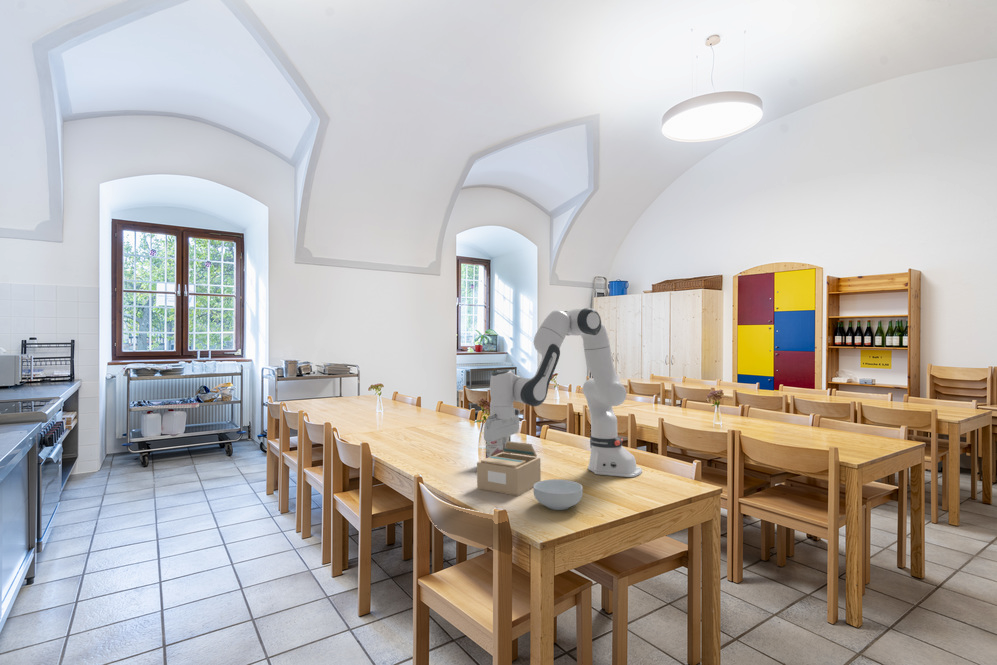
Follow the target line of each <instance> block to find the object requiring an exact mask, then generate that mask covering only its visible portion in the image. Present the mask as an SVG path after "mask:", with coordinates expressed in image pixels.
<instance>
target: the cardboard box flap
mask: <svg viewBox="0 0 997 665" xmlns="http://www.w3.org/2000/svg"><path fill="white" fill-rule="evenodd" d="M502 450H503V452H505V453H511V454H517V455H524V456H531V457H538V455H537V453H536V451H535V448H534V446H533V444H532V443H525V442H524V443H523V442H517V441H511V442H510V441H507V443H506V448H505V449H502Z"/></svg>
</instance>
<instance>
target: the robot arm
mask: <svg viewBox="0 0 997 665" xmlns="http://www.w3.org/2000/svg"><path fill="white" fill-rule="evenodd" d="M566 336H580V337H581V338H582V343H583V344H582V345H583V349H584V350H583V352H584V359H585V364H586V368H587V370H588V371H589V372H590V374H591V376H592V378H588V379H587V380H586V381H585V382H583V383H584V384H583V386H582V394H583V395H584V397H585V399H586V401H587V402H586V403H587V407H588V409H589V414H590V428H591V429H590V430H591V431H590V434H591V435H590V436H589V438H590V440H589V445H590V456H589V462H588V466H587V469H588V470H589V471H590V472H592V473H594V475H601V476H602V475H603V476H613V477H622V478H623V477H624V478H625V477H626V478H634V477H635V478H636V477H638V476H640V475H641V473H642V472H643V471H642V467H640V466H637V462H636V457H635V456H634V455H633V453H631V452H630V451H629V450H628V449H626V447H624V446H623V440H624V438H620V437H619V436H618V418H617V416H616V413H614V409H613V407H617V406H621V405H623V403H624V402H625V401H626V399H627V396H628V395H627V389H626V387H625V386H624V384H623V383H622V382H621V380H620V379H619V376H618V374H617V371H616V369H615V366H614V362H613V361H614V360H613V356H612V352H611V344H610V340H609V335H608V333H607V329H606V327H605V325H604V323H602V319H601V316H600V313H598V311H597V310H596V309H594V308H589V307H585V308H574V309H570V310H565V311H562V310H557V309H556V310H553V311H551V312H550V313H549V314H548V315H547V316H546V318H544V320H543V321H542V323H541V325H540V326H539V328H538V330H536V332H535V335H534V338H533V342H532V343H533V346H534V348H535V351H536V352H537V353H539V354H540V355H541V360H540V363H539V365H538V368H537V370H536V372H535V375H534V376H532V377H531V378H526V377H522V376H521V375H520V376H519V375H517V374H515V373H513V372H512V371H511V370H510V369H499V370H496V371H494V372H492V374H491V376H490V379H489V380H490V381H489V396H490V403H489V416H487V419H486V420H485V422H484V429H483V440H484V442H486V441H489V442H493V441H496V442H497V444H498V449H499V450H502V449H505V448H506V443H507V440H508V436H510V435H511V436H512V435H515V434H518V433H519V429H520V417H519V415H520V411H521V410H520V409H519V408H516V407H514V402H517V403H521V404H525V405H527V406H531V407H539V406H540V405H542V404H543V403H544V402H545V400H546V398H547V395H548V391H549V385H550V383H551V380H552V377H553V376H554V373H555V369H556V368H557V365H558V362H559V360H560V357H561V356H560V355H561V350H560V349H561V346H562V343H564V340H565V338H566Z"/></svg>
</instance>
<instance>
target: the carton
mask: <svg viewBox="0 0 997 665" xmlns="http://www.w3.org/2000/svg"><path fill="white" fill-rule="evenodd" d="M494 456H497V457H504V458H511V459H517V460H524V461H526V462H525V463H523V464H521V465H519V466H517V467H511V466H505V465H498V464H492V463H485V462H481V460H479V461H477V462H476V484H477V487H476V488H477V490H478V489H479V490H484V491H488V492H494V493H500V494H503V495H505V494H506V495H510V496H516V497H519V496H521V495H522V494H525V493H526V492H528V491H529V490H531V489H533V485H534V484H535V483H537V482H540V481H542V478H541V477H542V476H541V472H542V471H541V470H542V469H541V457H539V456H537V457H533V456H526V455H519V454H512V453H511V454H510V453H503V452H501V453H499V454H496V455H494Z"/></svg>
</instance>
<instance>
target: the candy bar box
mask: <svg viewBox="0 0 997 665" xmlns="http://www.w3.org/2000/svg"><path fill="white" fill-rule="evenodd" d="M507 441H510V442H512V435H510V436H508V440H507ZM501 452H503V450H499V449H498V444H497V442H496V441H493V442H489V441H485V459H486V458H488V457H490V456H494V455H496V454H499V453H501ZM503 453H505V452H503ZM510 454H512V453H510Z"/></svg>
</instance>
